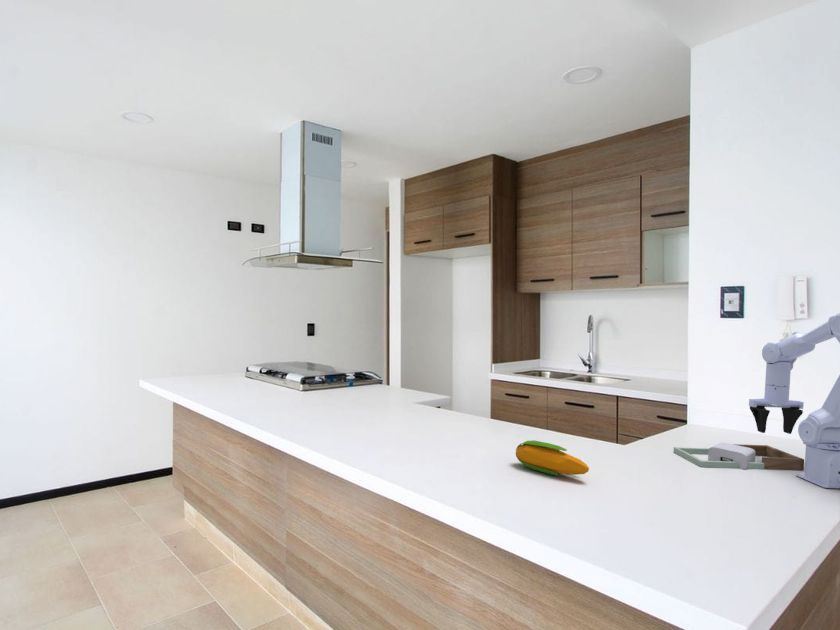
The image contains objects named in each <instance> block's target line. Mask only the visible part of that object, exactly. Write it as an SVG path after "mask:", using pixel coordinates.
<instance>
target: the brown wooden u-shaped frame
mask: <svg viewBox="0 0 840 630" xmlns="http://www.w3.org/2000/svg"><path fill="white" fill-rule="evenodd" d="M733 444H734V443H733ZM734 445H738V446H743V447H748V448H752V449H754V450H755V452H756V453H755V457H761V462H762V463H764V469H763V470H781V471H782V470H783V471H805V458H801V457H799V456H796V455H794V454H791V453H788V452H785V451H783V450H781V449H779V448H775V447H773V446H770V445H768V444H765V445H764V444H739V443H738V444H736V443H735V444H734Z"/></svg>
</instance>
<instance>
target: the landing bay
mask: <svg viewBox="0 0 840 630" xmlns="http://www.w3.org/2000/svg"><path fill="white" fill-rule="evenodd" d="M709 448H710V447H709ZM709 448H707V447H681V446H679V447H677V446H676V447H675V446H673V453H674V454H675V455H677V456H679V457H682V458H683V459H685V460H687V461H689V462H691V463H692V464H695V465H696V466H698V467H700V468H715V469H716V468H718V469H720V468H721V469H740V463H738V462H731V461H708V460H702V459H701V458H698V457H696V456H695V455H708V452H709ZM746 469H747V470H748V469H749V470H750V469H751V470H765V469H764V463H762V461H761V462H759V461H758V462H757V461H755V462H749V463H748V465H747V468H746ZM746 469H745V470H746Z"/></svg>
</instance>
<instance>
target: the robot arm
mask: <svg viewBox="0 0 840 630" xmlns="http://www.w3.org/2000/svg"><path fill="white" fill-rule="evenodd" d="M833 338H835V339H836V340H837V342H839V344H840V312H839V313H836V315H832V316H829V317H828V320H827V321H825V322H823V323H822V324H820V325H818V326H817V327H815V328H813V329H811V330H810V331H808V332H804V331H794V332H792V333H791V336H788V337H786V338H781V339H780V340H779V341H778V342H776V343H774V342H767V343H766V344H764V346H763V348H762V349H761V355H762V359H763V361H765V362H766V364H765V365H766V367H765V382H764V384H765V385H764V396H763V398H750V399H748V406H749V410H750V411H751V413H752V415H753V418H754V421H755V426H756V429H757V431H758V433H759V432H760V433H761V434H765V433H766V430H767V421H768V417H769V414H770V412H771V411H770V409H767V408H780V409H781V411H782V413H781V414H782V419H783V420H782V421H783V422H782V423H783V426H782V428H783V429H782V430H783V432H784V433H786V434H789V435H791V434H792V432H793V429H794V427H795V426H796V422H797V421H798V420H799V419H800V418H801V416H802V415H803V414H804V411H803V409H804V403H805V402H804V401H800V400H792V399H791V400H790V390H791V388H790V387H791V385H790V384H791V371H792V370H793V369H794V364H795V363H796V361H797V360H798V358H800V357H802V356H803V355H804V356H805V355H806V354H808V353H811V352H813V351H814V350H815V348H816V345H817V344H820V343H823V342H826V341H828V340H831V339H833ZM797 432H798V436H799V439H800V440H801V441H802V443H803V445H805V457H804V473H795V476H796V477H799V478H801V479H804V480H806V481H808V482H810V483H812V484H814V485H817V486H820V487H821V488H824V489H825V488H826V489H840V374H839V375H838V377H837V379H836V380H835V382H834V384H833V386H832V388H831V389H830V392H829V393H828V395H827V397H826V398H825V401H824V402H823V404H822V406H821V407H820V408H819V409H816V410H814V411H812V412H810V413H809V414H808V415H807V417H806V418H804V419H803V420H802V421H800V423H799V424H798V428H797Z"/></svg>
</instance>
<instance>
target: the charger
mask: <svg viewBox="0 0 840 630" xmlns="http://www.w3.org/2000/svg"><path fill="white" fill-rule="evenodd" d="M755 453H756V452H755V450H754V449H752V448H748V447H743V446H738V445H734V443H728V442H719V443H717V444H715V445H713V446H710V447H709V452H708V454H707V457H708V458H707V461H731V462H738V463H740V468H739V469H741V470H744V471H745V470H746V468H747V465H748V463H749V462H756V456H755Z"/></svg>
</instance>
